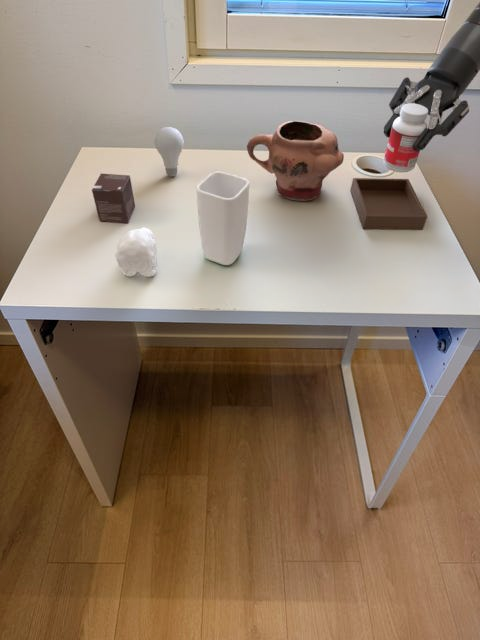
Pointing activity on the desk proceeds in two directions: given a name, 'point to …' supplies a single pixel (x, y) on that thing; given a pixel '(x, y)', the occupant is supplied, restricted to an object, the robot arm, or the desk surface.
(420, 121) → the pill bottle
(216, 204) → the cup
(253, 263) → the desk surface
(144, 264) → the white lumpy curved piece
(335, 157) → the pink face mug
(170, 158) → the lightbulb
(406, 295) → the desk surface
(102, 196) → the box
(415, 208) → the tray
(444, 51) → the robot arm
